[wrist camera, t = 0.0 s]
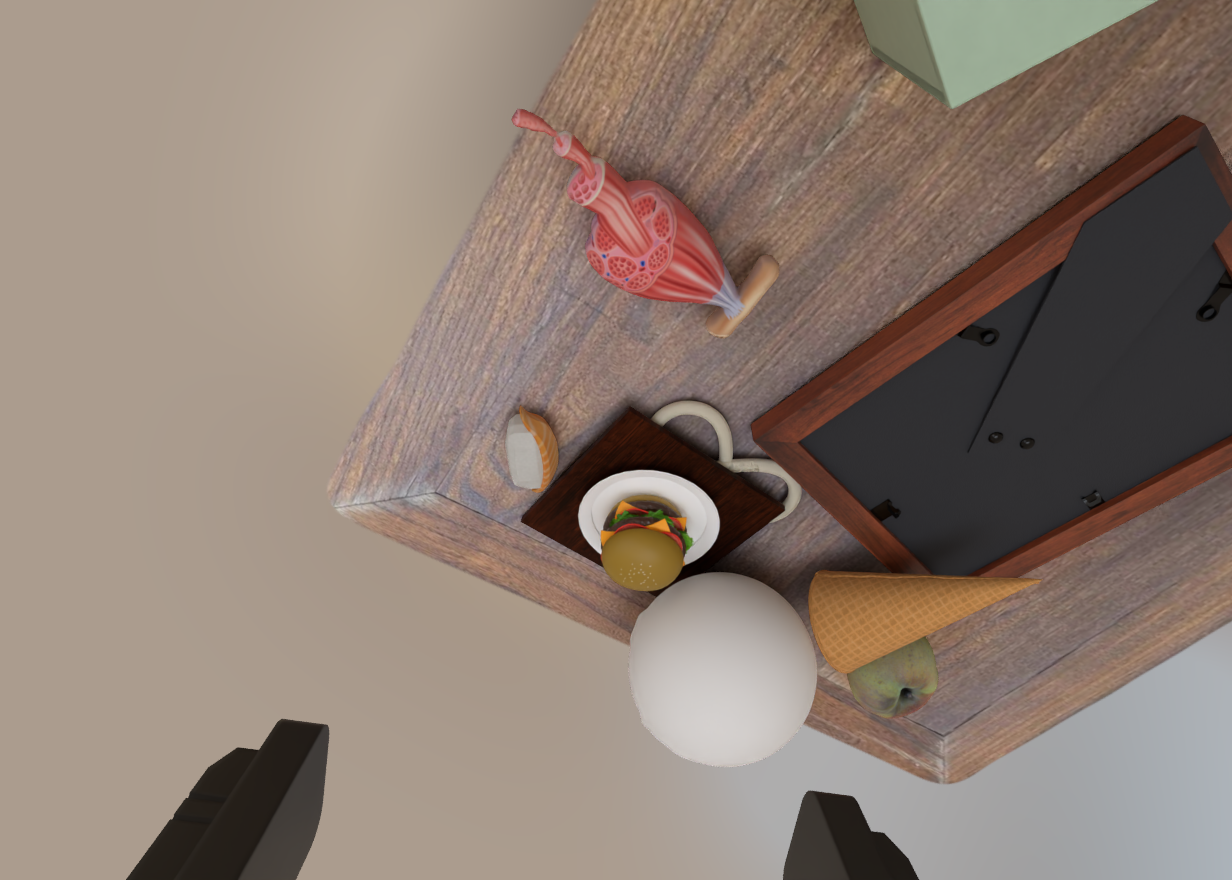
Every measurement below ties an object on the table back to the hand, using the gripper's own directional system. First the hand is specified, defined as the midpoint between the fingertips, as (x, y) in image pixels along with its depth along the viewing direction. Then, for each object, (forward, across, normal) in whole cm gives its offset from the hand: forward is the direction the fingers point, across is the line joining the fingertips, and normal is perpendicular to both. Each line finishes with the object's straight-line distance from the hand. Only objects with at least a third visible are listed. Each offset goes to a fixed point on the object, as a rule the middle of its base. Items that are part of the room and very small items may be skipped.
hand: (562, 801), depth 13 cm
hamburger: (+36, -5, +7) cm, 37 cm away
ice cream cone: (+28, -27, +5) cm, 39 cm away
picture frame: (+32, -25, -4) cm, 41 cm away
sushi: (+34, +4, +4) cm, 34 cm away
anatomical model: (+28, +1, -8) cm, 29 cm away
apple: (+40, -24, +15) cm, 49 cm away
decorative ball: (+31, -10, +10) cm, 34 cm away
